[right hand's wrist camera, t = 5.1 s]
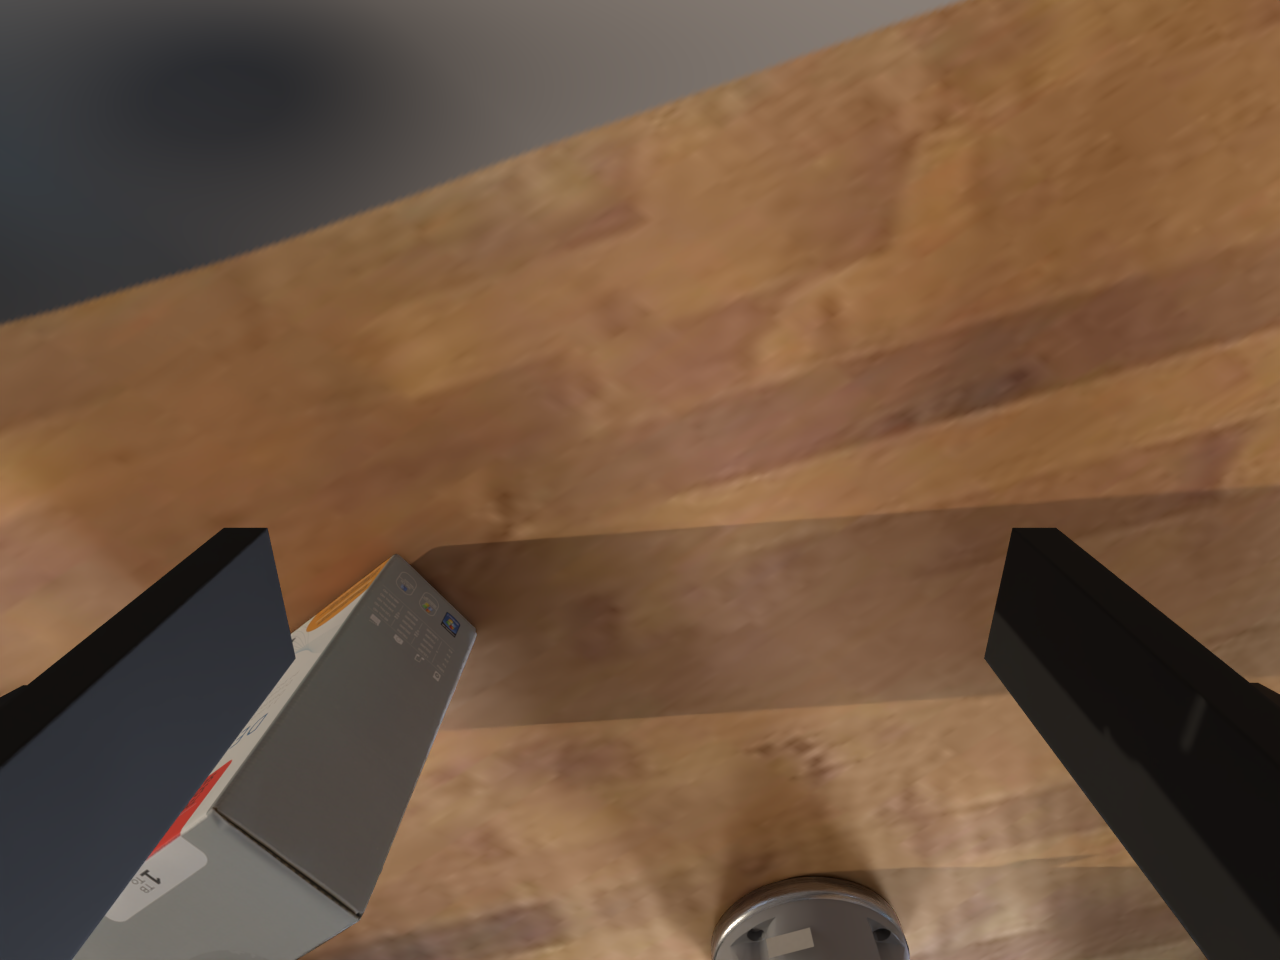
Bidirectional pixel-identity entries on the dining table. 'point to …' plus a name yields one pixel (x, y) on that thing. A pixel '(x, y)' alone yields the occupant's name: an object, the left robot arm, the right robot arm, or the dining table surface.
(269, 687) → the right robot arm
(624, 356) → the dining table surface
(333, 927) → the hard drive box
